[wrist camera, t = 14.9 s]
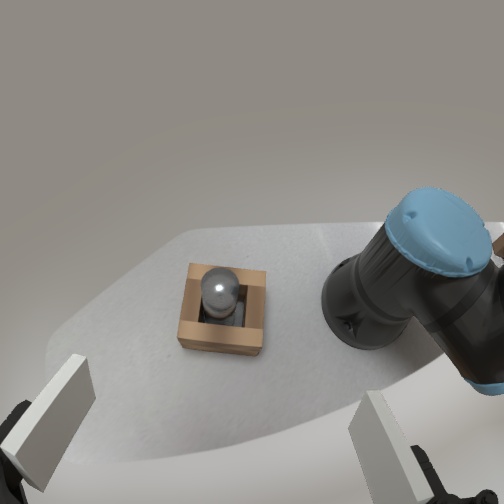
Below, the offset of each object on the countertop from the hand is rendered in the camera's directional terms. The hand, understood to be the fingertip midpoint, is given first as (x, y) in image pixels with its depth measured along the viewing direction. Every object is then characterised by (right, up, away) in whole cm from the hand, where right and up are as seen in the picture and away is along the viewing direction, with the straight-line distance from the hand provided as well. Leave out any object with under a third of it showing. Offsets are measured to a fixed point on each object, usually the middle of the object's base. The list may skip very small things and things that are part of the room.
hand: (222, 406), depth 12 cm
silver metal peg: (-3, -3, +29) cm, 29 cm away
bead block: (-3, -2, +29) cm, 29 cm away
